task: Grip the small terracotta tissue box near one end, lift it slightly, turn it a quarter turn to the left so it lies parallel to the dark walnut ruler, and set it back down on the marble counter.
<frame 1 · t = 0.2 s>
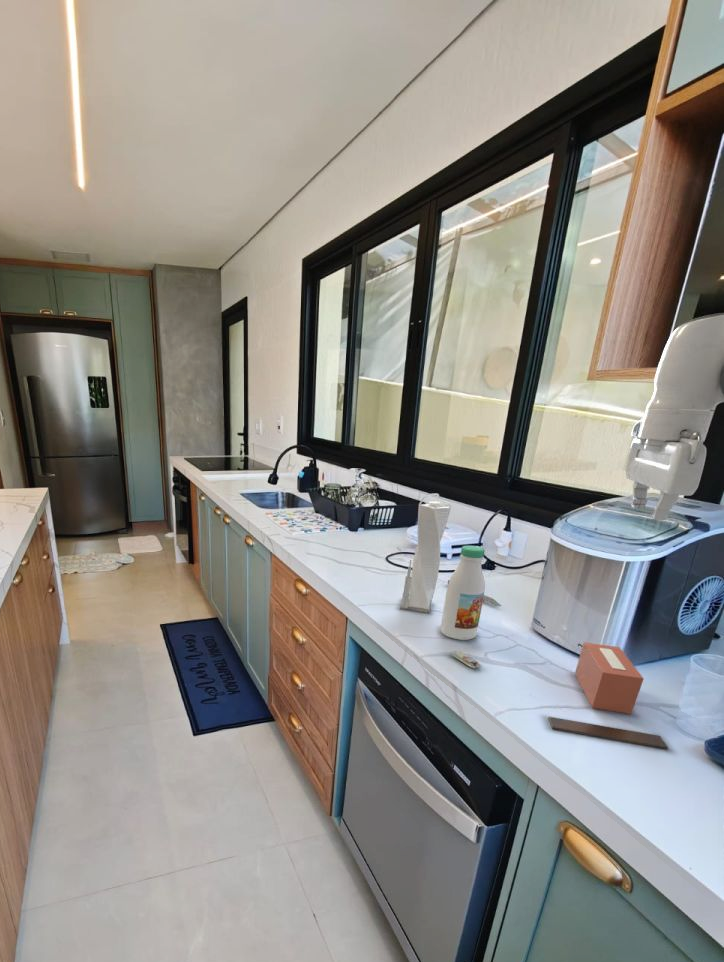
hand: (647, 513, 87), 31 cm above the countertop, tool pointing down, fingers open, 8 cm apart
kitchen knife: (472, 597, 136), on the countertop
milk bottle: (457, 634, 114), on the countertop
walnut ruler: (605, 733, 80), on the countertop
skyscraper: (418, 606, 128), on the countertop
tissue box: (601, 693, 91), on the countertop
granola bar: (464, 662, 101), on the countertop
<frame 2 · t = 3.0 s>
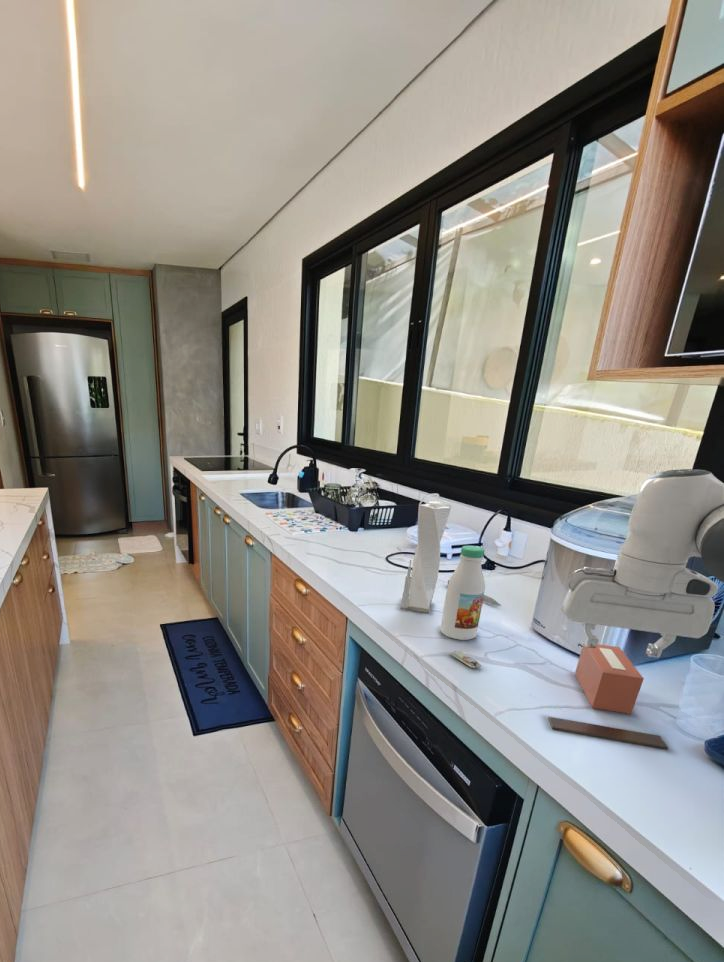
hand: (620, 650, 85), 10 cm above the countertop, tool pointing down, fingers open, 8 cm apart
nothing on the countertop moved.
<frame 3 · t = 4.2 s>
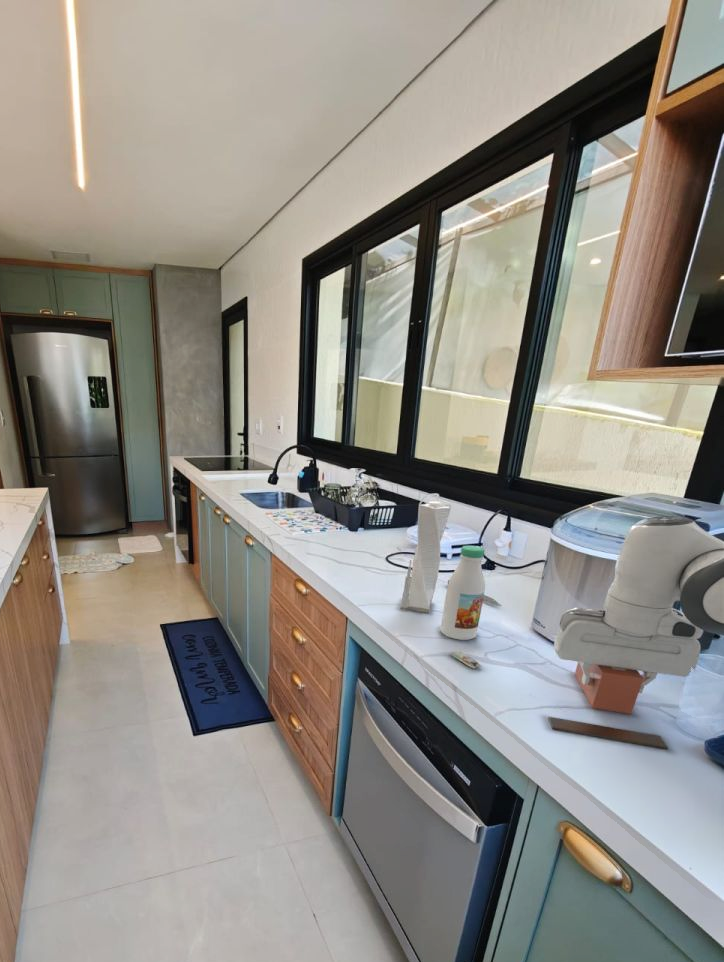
hand: (610, 687, 88), 3 cm above the countertop, tool pointing down, fingers closed on tissue box, 6 cm apart
tissue box: (600, 693, 91), on the countertop, touching gripper
everything else where it was.
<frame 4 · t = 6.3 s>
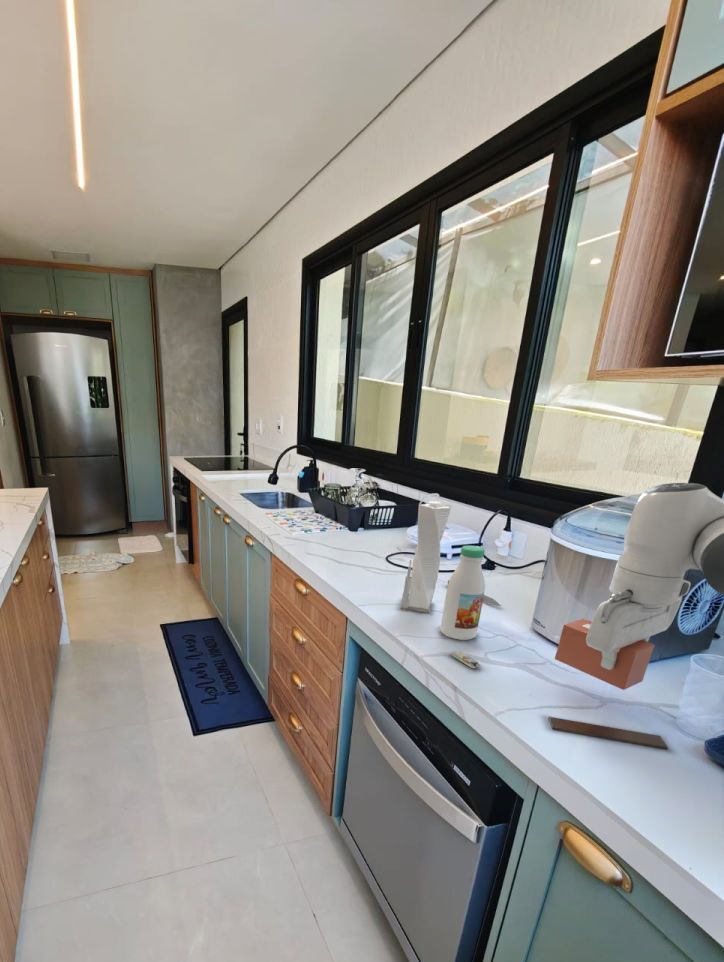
hand: (619, 662, 85), 8 cm above the countertop, tool pointing down, fingers closed on tissue box, 6 cm apart
tissue box: (596, 669, 89), point 5 cm above the countertop, touching gripper
everything else where it was.
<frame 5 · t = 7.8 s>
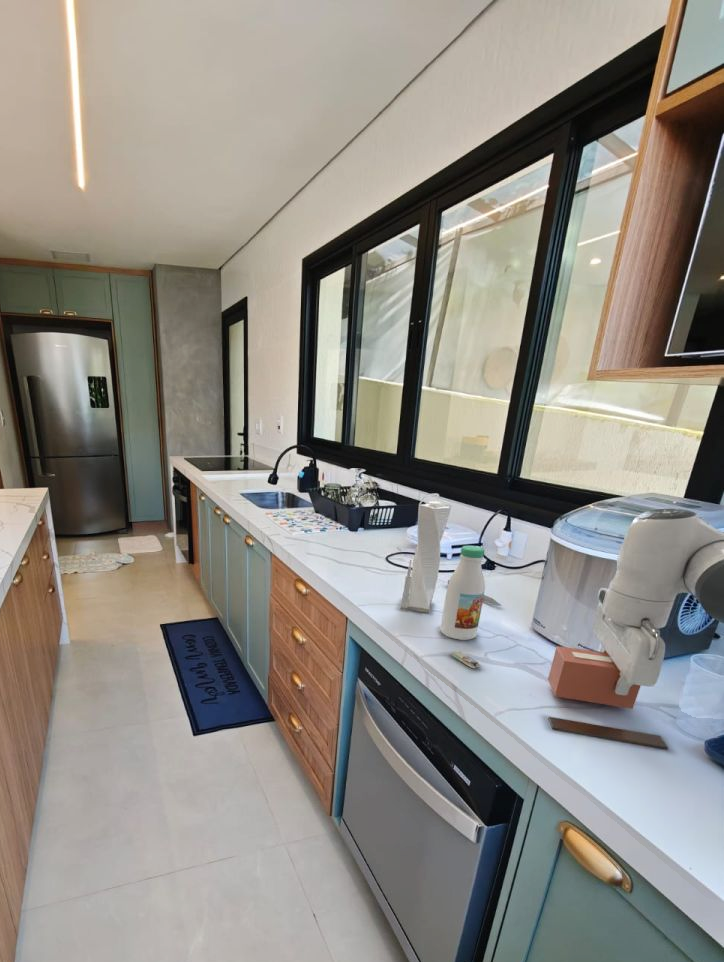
hand: (612, 681, 87), 4 cm above the countertop, tool pointing down, fingers closed on tissue box, 6 cm apart
tissue box: (588, 693, 89), point 1 cm above the countertop, touching gripper
everything else where it was.
when the fingers open (3 cm above the countertop, at t = 8.7 s): tissue box stays where it is, on the countertop.
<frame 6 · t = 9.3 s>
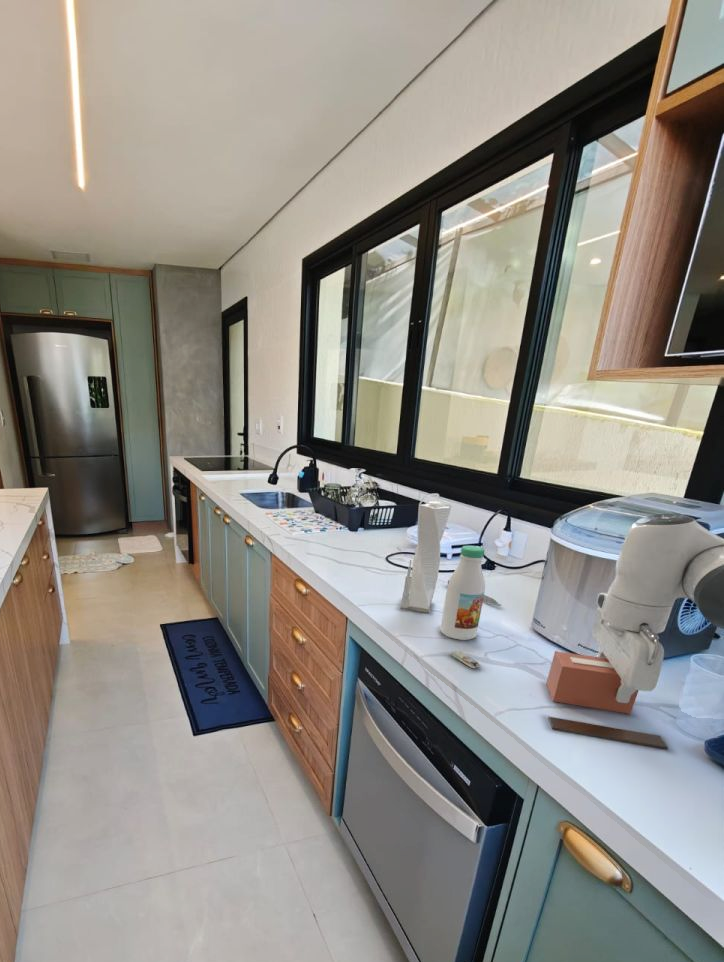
hand: (611, 686, 87), 3 cm above the countertop, tool pointing down, fingers open, 8 cm apart
tissue box: (586, 698, 89), on the countertop
everything else where it was.
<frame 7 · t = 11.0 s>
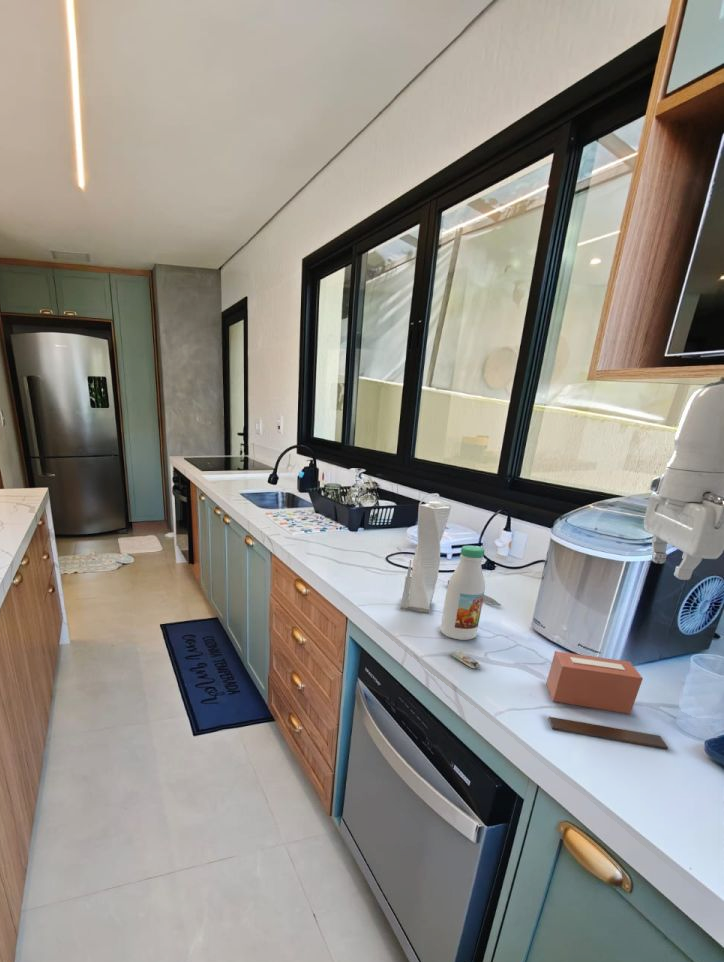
hand: (668, 570, 86), 23 cm above the countertop, tool pointing down, fingers open, 8 cm apart
nothing on the countertop moved.
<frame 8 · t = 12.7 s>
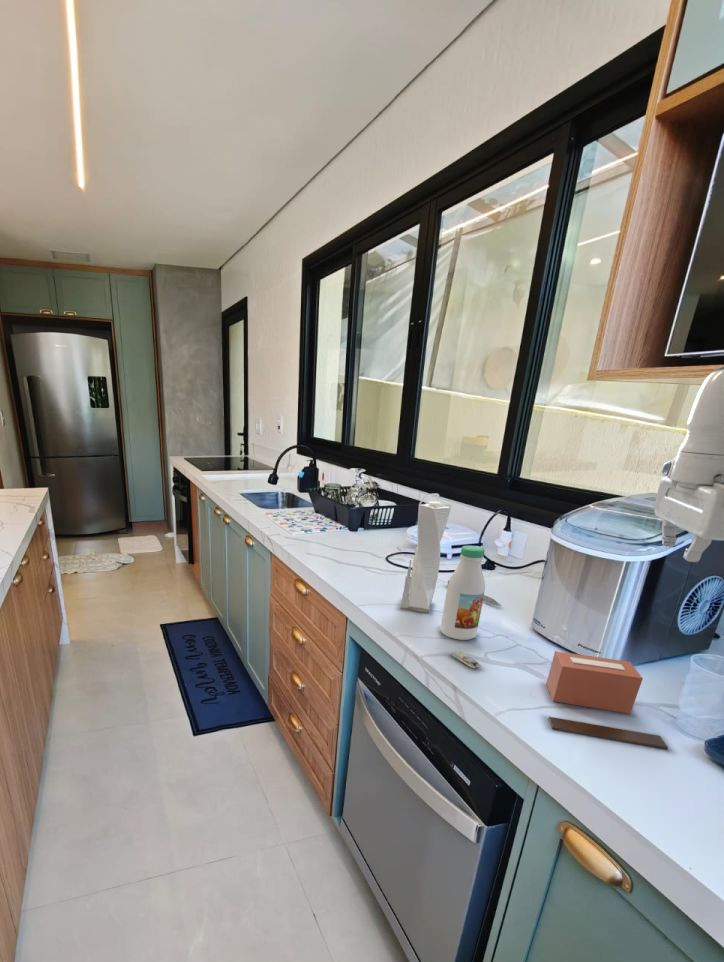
hand: (677, 553, 87), 25 cm above the countertop, tool pointing down, fingers open, 8 cm apart
nothing on the countertop moved.
at the end: tissue box 0.4 cm from the target spot, on the countertop; tissue box tilted 0°; the gripper is holding nothing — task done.
